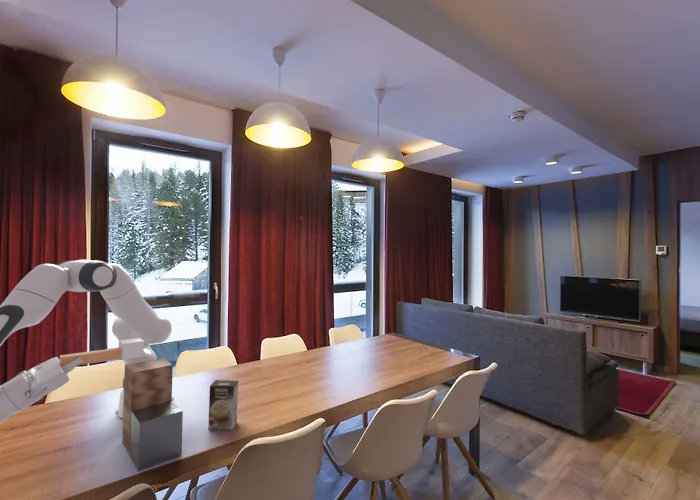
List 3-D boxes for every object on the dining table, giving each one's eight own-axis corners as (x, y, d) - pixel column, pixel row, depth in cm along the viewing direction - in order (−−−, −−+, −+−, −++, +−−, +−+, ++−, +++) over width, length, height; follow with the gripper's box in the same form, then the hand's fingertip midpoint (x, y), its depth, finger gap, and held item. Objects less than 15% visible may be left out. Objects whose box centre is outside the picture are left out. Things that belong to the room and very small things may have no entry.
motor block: (138, 471, 101) (139, 422, 101) (129, 455, 109) (131, 411, 109) (181, 455, 109) (182, 410, 110) (170, 442, 117) (172, 400, 117)
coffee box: (207, 430, 126) (208, 385, 126) (213, 421, 132) (214, 379, 132) (232, 430, 126) (233, 386, 126) (237, 421, 132) (238, 379, 133)
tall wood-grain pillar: (129, 455, 109) (132, 372, 110) (122, 442, 117) (124, 364, 117) (170, 441, 117) (172, 364, 118) (161, 430, 125) (163, 358, 126)
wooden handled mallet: (61, 369, 99) (61, 351, 99) (59, 364, 104) (59, 347, 104) (143, 356, 114) (144, 341, 114) (138, 352, 118) (139, 337, 118)
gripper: (18, 392, 88) (78, 356, 96) (18, 372, 102) (70, 342, 111) (34, 410, 90) (92, 373, 98) (31, 388, 104) (82, 358, 113)
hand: (80, 357), depth 105 cm, fingers closed on wooden handled mallet, 3 cm apart
